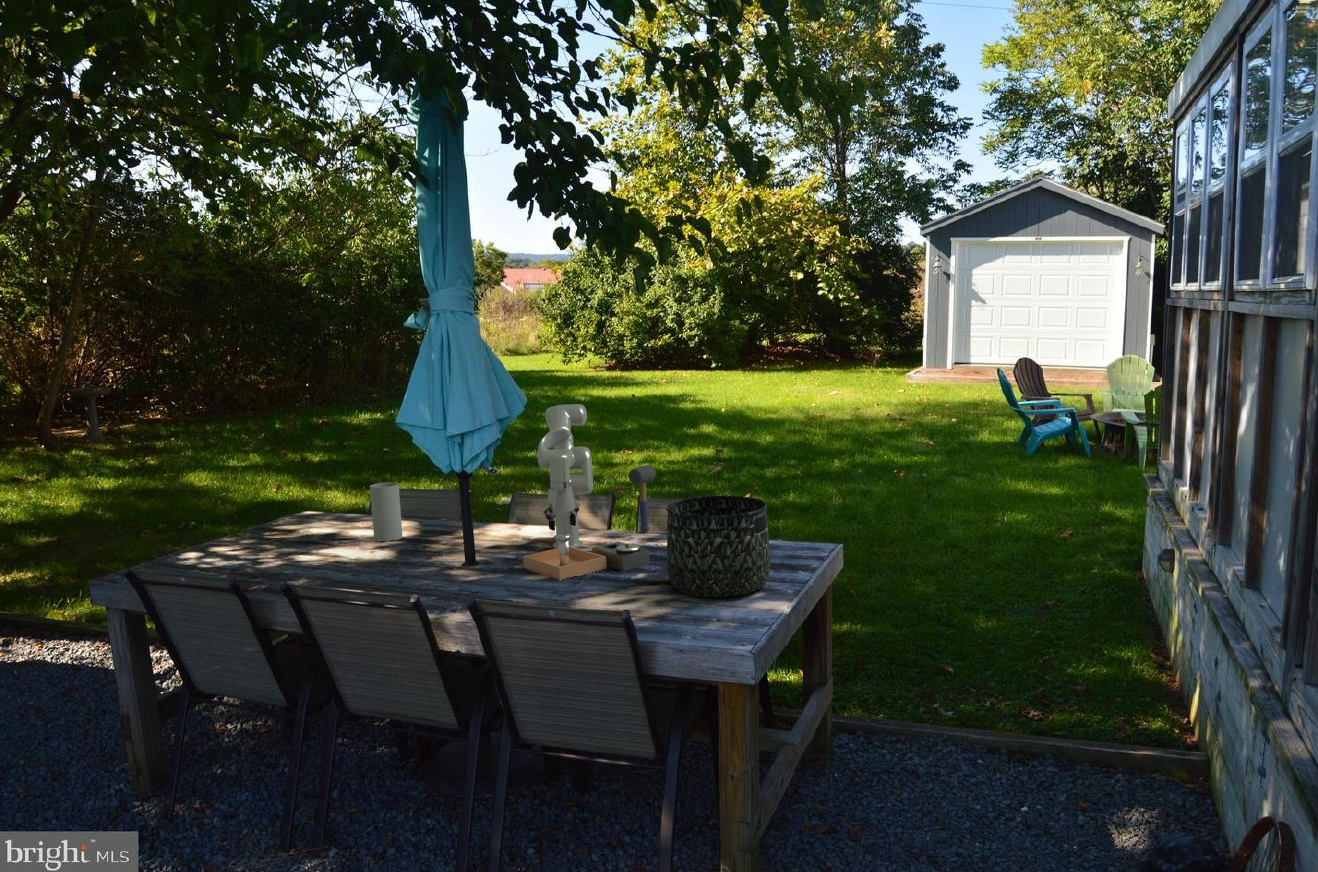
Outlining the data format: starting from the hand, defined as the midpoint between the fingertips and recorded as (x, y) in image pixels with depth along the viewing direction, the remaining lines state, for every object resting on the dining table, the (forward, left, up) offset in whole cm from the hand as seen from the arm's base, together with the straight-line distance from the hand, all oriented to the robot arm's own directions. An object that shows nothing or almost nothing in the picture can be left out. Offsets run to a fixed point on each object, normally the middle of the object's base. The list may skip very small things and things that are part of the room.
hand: (562, 527), depth 399 cm
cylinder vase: (-103, -26, -17) cm, 108 cm away
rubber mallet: (-24, +60, -17) cm, 66 cm away
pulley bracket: (+11, +20, -16) cm, 28 cm away
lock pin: (+1, 0, -15) cm, 15 cm away
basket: (+64, +24, -17) cm, 70 cm away
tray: (+1, 0, -16) cm, 16 cm away
